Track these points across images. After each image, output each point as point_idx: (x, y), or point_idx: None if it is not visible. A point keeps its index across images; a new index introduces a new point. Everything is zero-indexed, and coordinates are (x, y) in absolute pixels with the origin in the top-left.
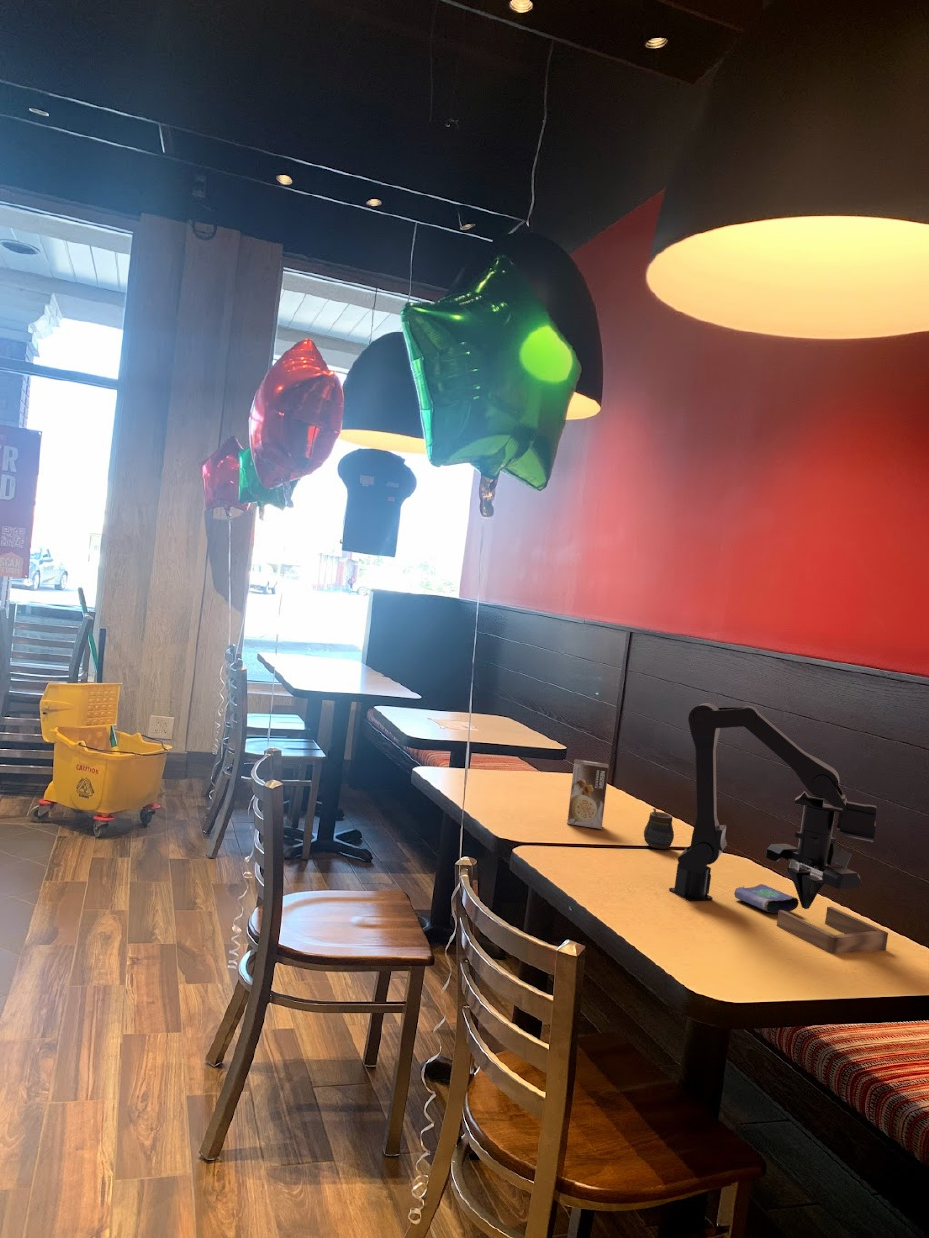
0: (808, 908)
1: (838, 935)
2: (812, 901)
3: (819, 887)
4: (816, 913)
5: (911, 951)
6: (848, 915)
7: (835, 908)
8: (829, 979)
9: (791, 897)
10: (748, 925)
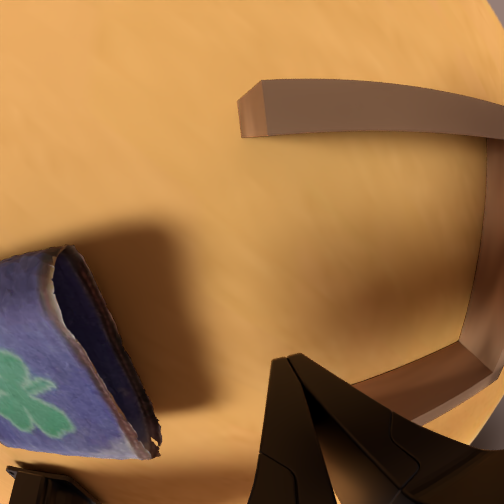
0: (300, 355)
1: (502, 357)
2: (341, 382)
3: (447, 457)
4: (73, 71)
5: (490, 21)
6: (432, 107)
7: (307, 80)
8: (487, 391)
9: (56, 326)
10: (243, 469)
